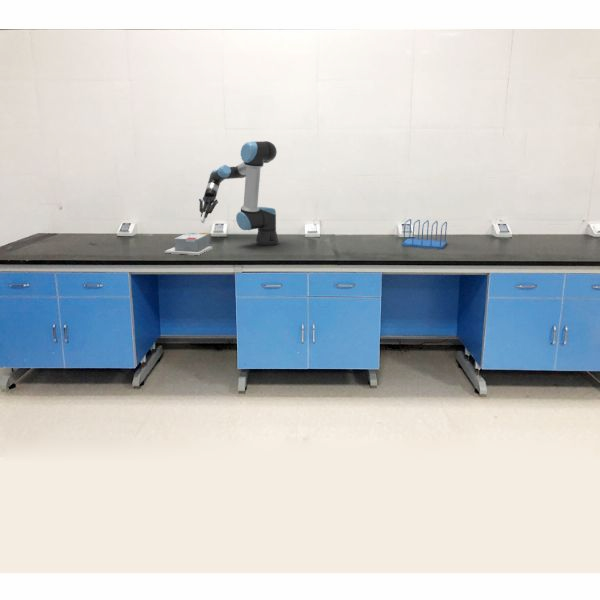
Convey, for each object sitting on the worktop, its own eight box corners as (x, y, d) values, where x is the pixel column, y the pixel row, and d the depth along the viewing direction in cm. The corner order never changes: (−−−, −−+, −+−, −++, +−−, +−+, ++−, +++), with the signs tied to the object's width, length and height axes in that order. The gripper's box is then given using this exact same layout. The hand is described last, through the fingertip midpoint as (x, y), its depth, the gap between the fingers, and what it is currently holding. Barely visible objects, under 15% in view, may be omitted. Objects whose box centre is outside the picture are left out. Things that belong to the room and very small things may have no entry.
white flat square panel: (212, 248, 364) (212, 246, 364) (198, 255, 346) (198, 253, 345) (180, 246, 370) (180, 244, 370) (164, 253, 352) (164, 251, 351)
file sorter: (401, 246, 371) (402, 222, 367) (408, 241, 386) (409, 218, 382) (441, 249, 362) (443, 224, 357) (446, 244, 377) (448, 220, 372)
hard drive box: (210, 232, 366) (198, 239, 347) (211, 245, 368) (199, 251, 349) (186, 232, 369) (173, 238, 350) (187, 244, 371) (174, 251, 352)
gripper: (222, 195, 385) (213, 225, 375) (204, 194, 388) (194, 224, 378) (218, 188, 379) (210, 218, 369) (200, 187, 382) (190, 217, 372)
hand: (202, 221), depth 373 cm, fingers closed
